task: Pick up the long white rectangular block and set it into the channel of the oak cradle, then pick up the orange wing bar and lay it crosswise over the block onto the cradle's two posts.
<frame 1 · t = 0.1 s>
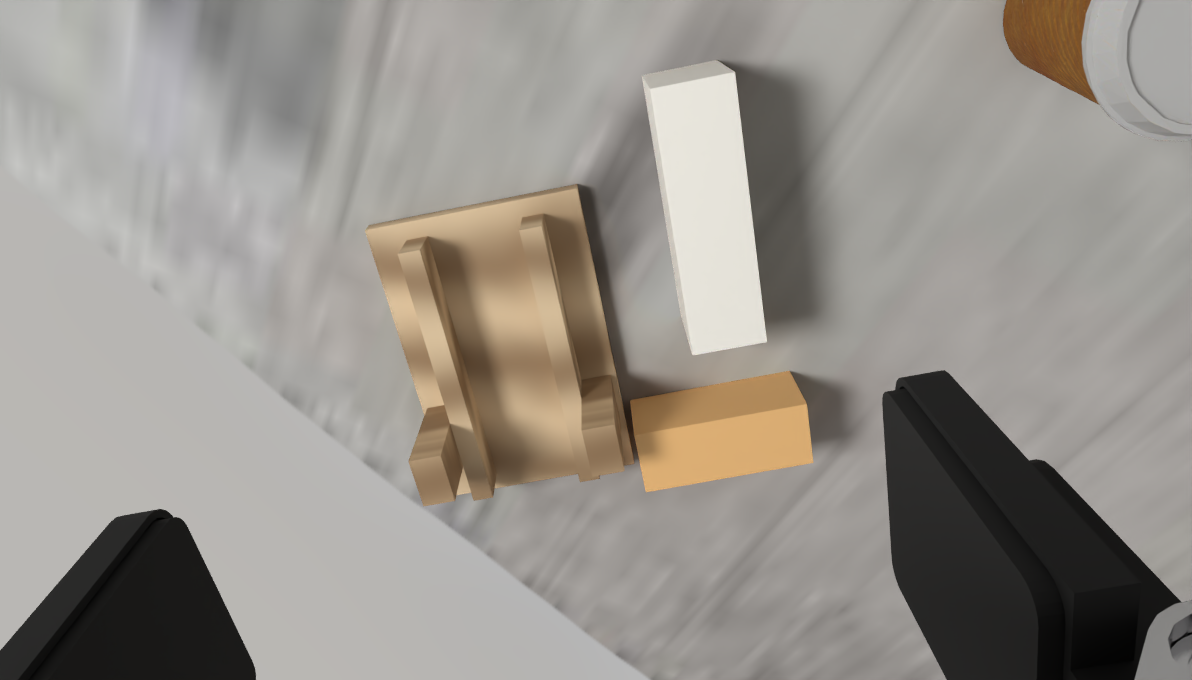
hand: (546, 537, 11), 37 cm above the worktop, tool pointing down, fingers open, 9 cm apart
disposable coffee cup: (1062, 8, 43), on the worktop
white rectangular block: (697, 195, 47), on the worktop
cradle: (509, 347, 50), on the worktop
wing: (713, 411, 52), on the worktop
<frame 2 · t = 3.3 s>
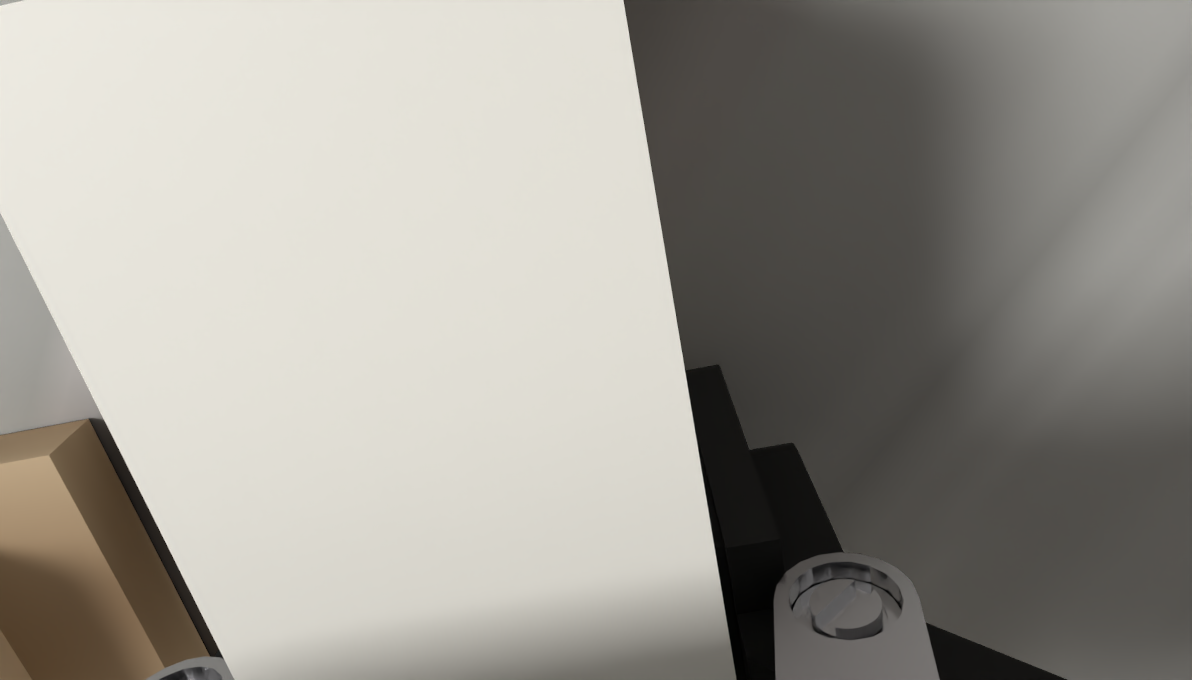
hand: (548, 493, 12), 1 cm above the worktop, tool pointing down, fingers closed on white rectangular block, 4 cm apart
white rectangular block: (550, 456, 13), on the worktop, touching gripper
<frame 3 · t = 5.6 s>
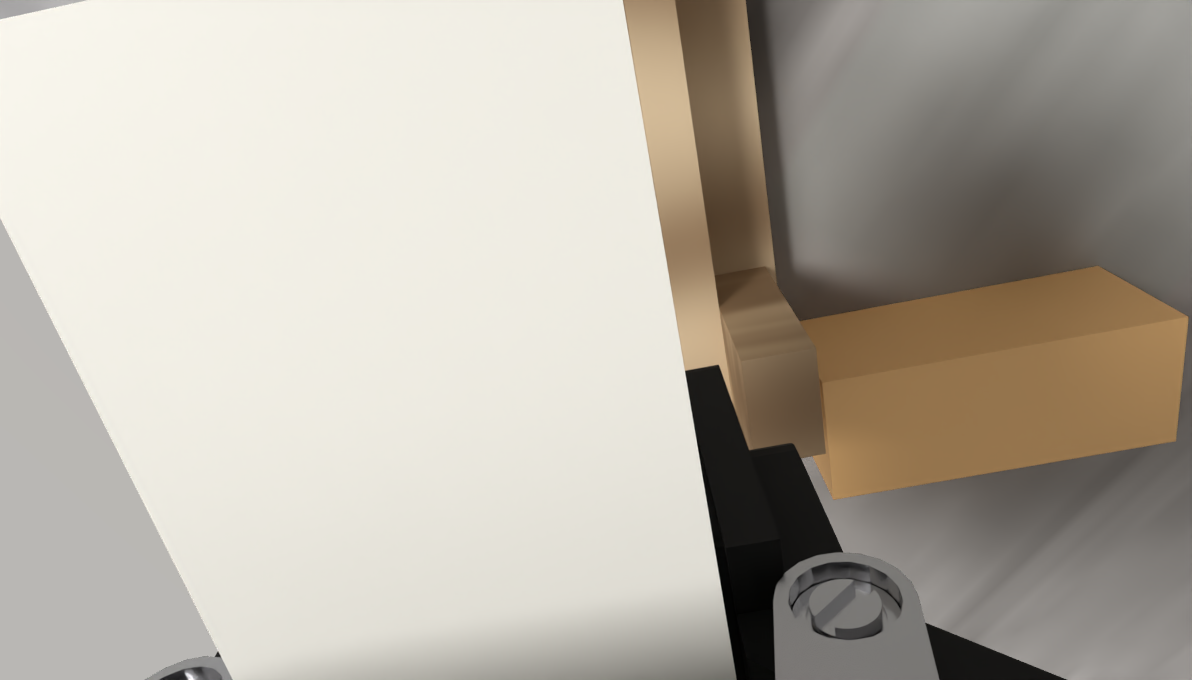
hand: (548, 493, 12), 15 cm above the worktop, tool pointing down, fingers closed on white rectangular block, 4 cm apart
white rectangular block: (551, 460, 13), point 14 cm above the worktop, touching gripper
cradle: (565, 214, 25), on the worktop
wing: (940, 347, 28), on the worktop
when the fingers open (4 cm above the worktop, at t = 7.8 s): white rectangular block drops 2 cm, resting on cradle.
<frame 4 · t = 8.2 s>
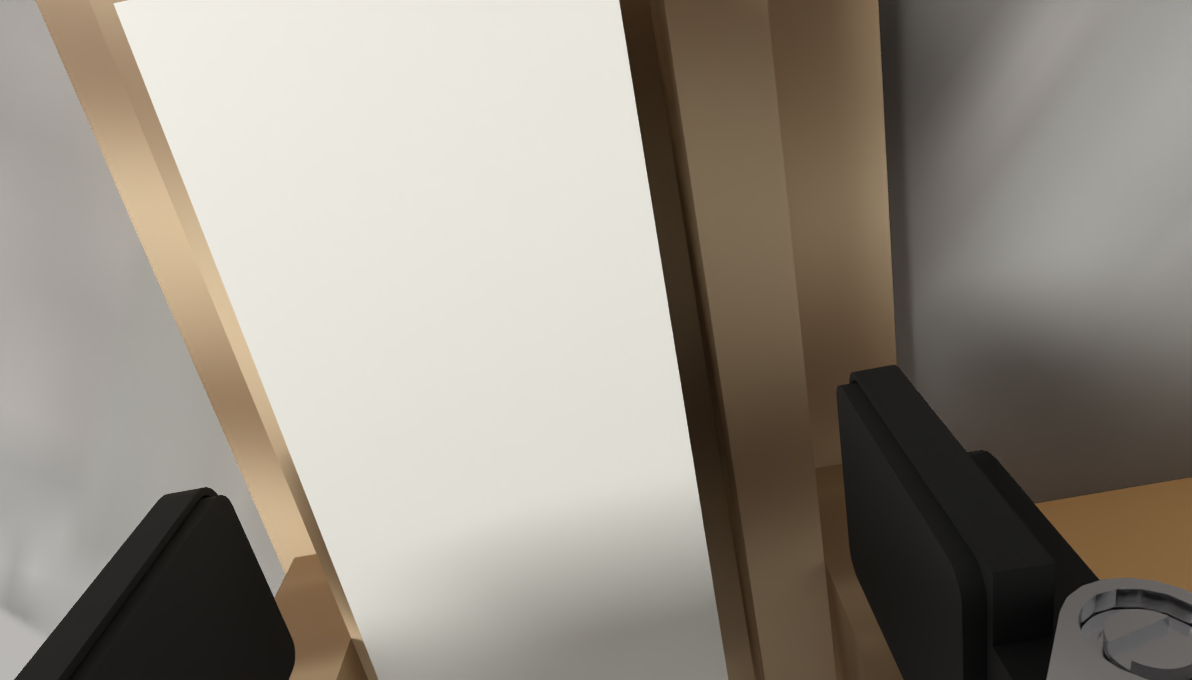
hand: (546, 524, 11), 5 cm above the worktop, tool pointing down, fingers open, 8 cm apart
white rectangular block: (554, 390, 15), point 1 cm above the worktop, touching cradle
cradle: (556, 368, 16), on the worktop
wing: (1137, 555, 18), on the worktop
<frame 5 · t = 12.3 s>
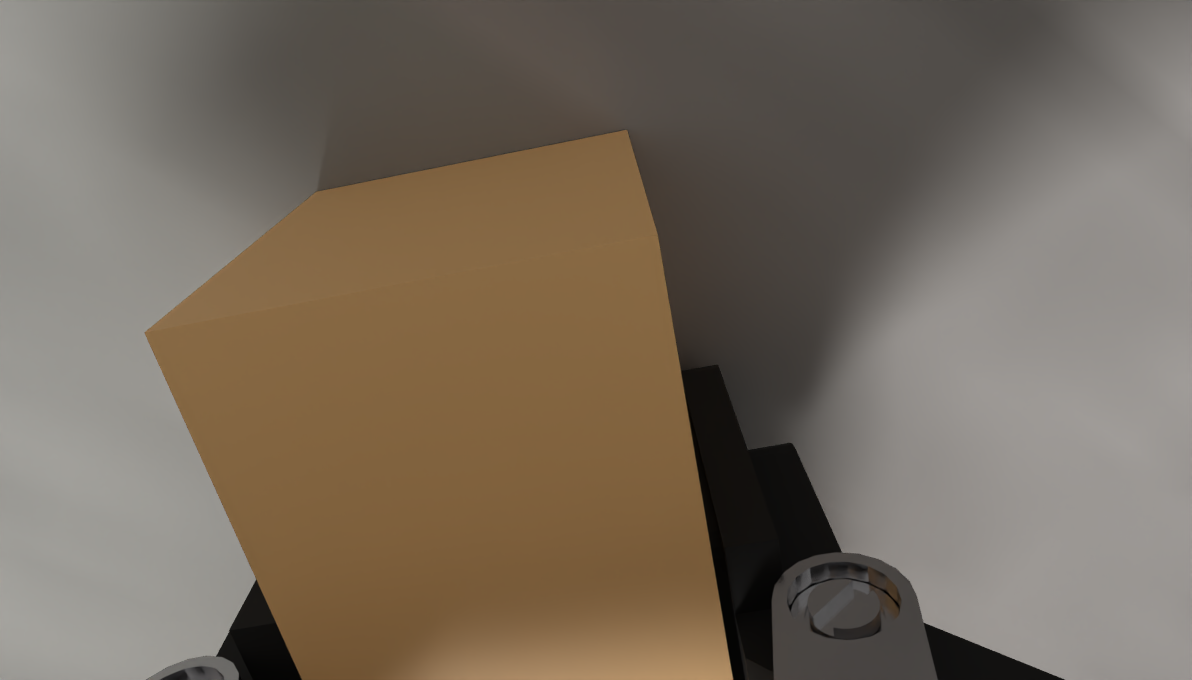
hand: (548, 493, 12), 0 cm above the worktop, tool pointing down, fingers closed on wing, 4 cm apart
wing: (553, 490, 12), on the worktop, touching gripper
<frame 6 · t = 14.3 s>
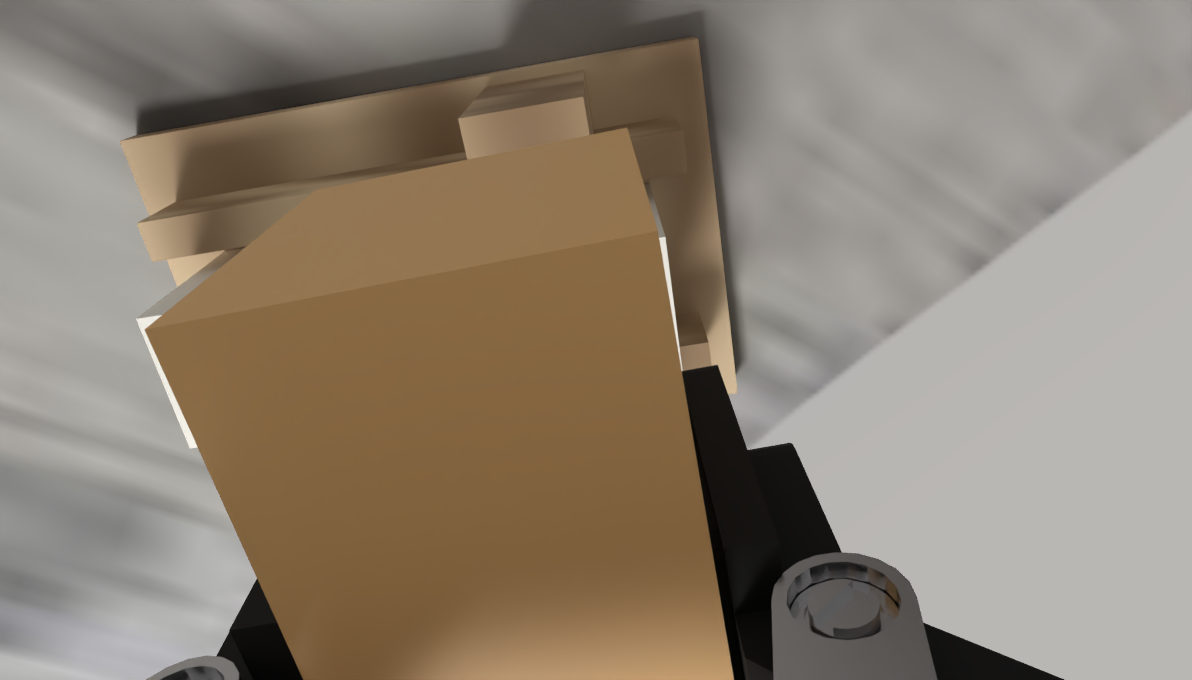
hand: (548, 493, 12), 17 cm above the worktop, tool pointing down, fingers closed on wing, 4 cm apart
white rectangular block: (448, 275, 27), point 1 cm above the worktop, touching cradle
cradle: (454, 266, 28), on the worktop
wing: (554, 488, 12), point 17 cm above the worktop, touching gripper
when the fingers open (8 cm above the worktop, at t = 16.4 s): wing stays where it is, resting on cradle.
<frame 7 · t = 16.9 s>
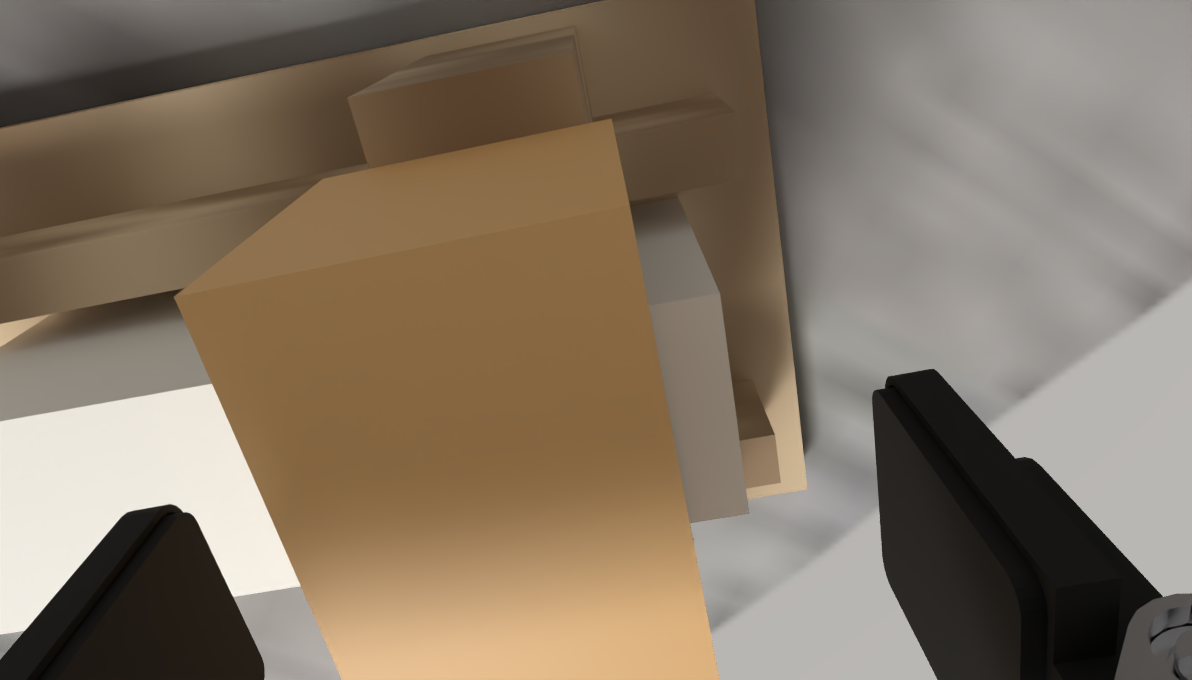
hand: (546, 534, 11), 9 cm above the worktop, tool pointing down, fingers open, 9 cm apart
white rectangular block: (385, 338, 19), point 1 cm above the worktop, touching cradle
cradle: (396, 321, 20), on the worktop
wing: (547, 460, 13), point 7 cm above the worktop, touching cradle
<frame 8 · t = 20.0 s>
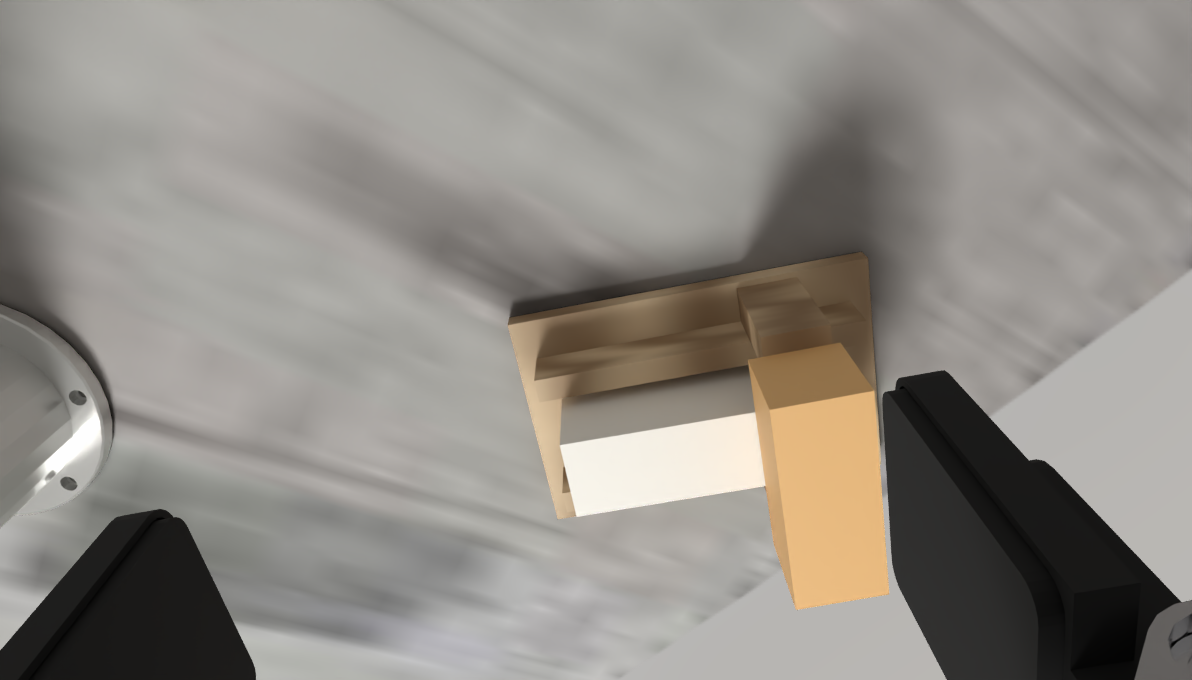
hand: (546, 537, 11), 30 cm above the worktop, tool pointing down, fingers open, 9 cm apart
white rectangular block: (701, 397, 43), point 1 cm above the worktop, touching cradle
cradle: (699, 388, 44), on the worktop
wing: (805, 448, 38), point 7 cm above the worktop, touching cradle
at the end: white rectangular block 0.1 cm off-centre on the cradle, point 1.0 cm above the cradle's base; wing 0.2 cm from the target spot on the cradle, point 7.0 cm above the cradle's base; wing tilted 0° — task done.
